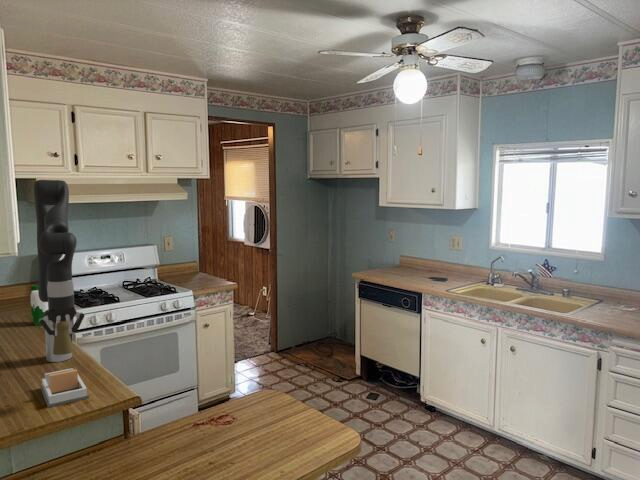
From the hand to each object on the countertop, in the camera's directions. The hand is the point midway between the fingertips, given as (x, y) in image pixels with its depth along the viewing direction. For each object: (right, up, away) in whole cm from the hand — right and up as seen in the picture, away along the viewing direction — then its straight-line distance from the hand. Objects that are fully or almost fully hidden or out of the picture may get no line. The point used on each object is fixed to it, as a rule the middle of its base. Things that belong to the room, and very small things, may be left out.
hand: (63, 345), depth 158 cm
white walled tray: (-3, -18, +6) cm, 19 cm away
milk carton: (-58, -8, +88) cm, 105 cm away
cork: (0, -2, 0) cm, 2 cm away
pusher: (-3, -16, +6) cm, 18 cm away
